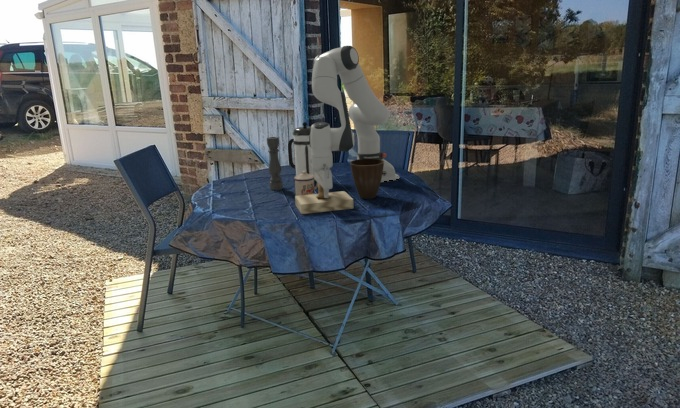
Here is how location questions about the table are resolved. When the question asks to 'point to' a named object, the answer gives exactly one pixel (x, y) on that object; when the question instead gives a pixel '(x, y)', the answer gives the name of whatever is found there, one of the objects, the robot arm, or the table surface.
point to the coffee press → (301, 150)
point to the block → (323, 202)
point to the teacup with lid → (304, 184)
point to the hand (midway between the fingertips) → (323, 194)
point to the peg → (321, 192)
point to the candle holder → (274, 163)
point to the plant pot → (367, 176)
